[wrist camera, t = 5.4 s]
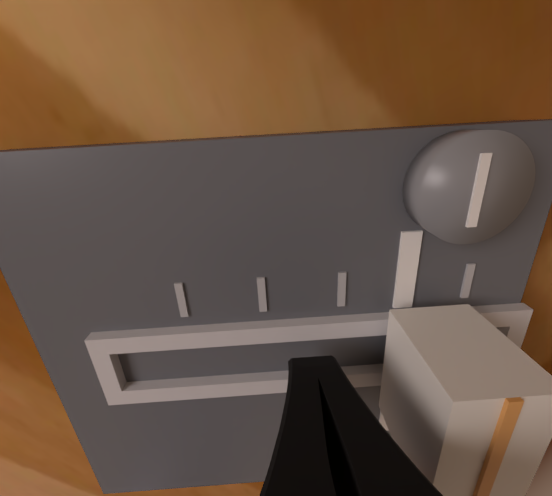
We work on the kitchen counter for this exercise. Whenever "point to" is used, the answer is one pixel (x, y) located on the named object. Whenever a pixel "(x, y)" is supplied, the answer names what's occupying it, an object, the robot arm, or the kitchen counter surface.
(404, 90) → the kitchen counter surface
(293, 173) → the console
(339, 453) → the robot arm
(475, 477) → the fader cap
